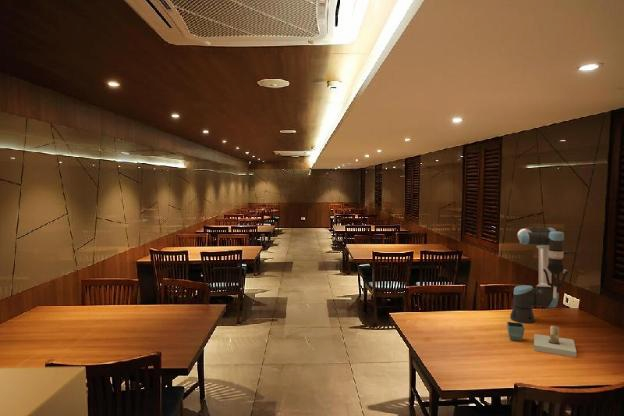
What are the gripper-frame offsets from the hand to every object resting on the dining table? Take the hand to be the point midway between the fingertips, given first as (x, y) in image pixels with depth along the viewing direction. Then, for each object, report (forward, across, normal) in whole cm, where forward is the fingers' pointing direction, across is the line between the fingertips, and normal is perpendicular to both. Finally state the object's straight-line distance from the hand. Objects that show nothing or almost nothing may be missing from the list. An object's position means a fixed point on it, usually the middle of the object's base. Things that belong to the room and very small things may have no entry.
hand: (554, 297), depth 242 cm
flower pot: (+27, -20, -6) cm, 34 cm away
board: (+26, 0, -10) cm, 28 cm away
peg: (+26, 0, -10) cm, 28 cm away
